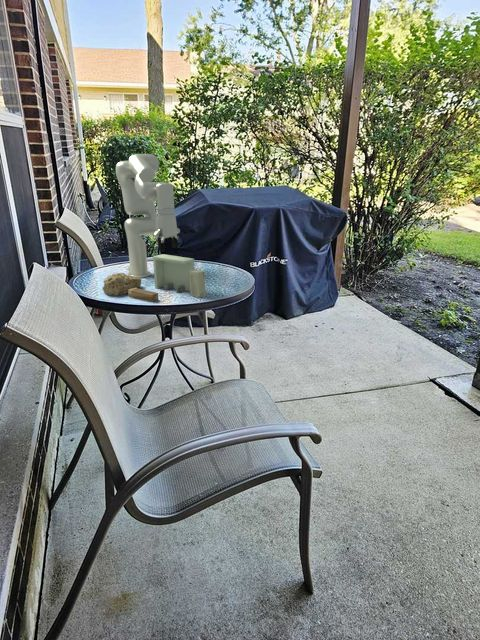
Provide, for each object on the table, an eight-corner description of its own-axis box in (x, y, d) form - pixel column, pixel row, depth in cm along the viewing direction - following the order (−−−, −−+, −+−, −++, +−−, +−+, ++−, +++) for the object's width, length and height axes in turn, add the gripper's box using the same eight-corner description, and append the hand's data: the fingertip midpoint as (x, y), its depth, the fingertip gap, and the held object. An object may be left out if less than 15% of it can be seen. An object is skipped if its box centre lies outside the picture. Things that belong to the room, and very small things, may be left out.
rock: (118, 285, 217) (121, 267, 214) (142, 294, 214) (146, 276, 211) (95, 292, 198) (98, 272, 195) (121, 302, 195) (125, 282, 192)
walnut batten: (152, 302, 188) (152, 294, 187) (128, 297, 196) (128, 289, 194) (158, 300, 192) (158, 292, 190) (135, 294, 199) (134, 287, 198)
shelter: (155, 288, 209) (152, 256, 204) (164, 285, 215) (162, 254, 209) (186, 294, 200) (184, 261, 194) (195, 291, 205) (194, 258, 199)
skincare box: (206, 296, 197) (205, 271, 193) (199, 298, 194) (198, 272, 190) (196, 293, 201) (196, 268, 197) (190, 295, 198) (189, 270, 194)
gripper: (171, 209, 196) (173, 246, 202) (146, 213, 182) (149, 252, 188) (184, 210, 193) (186, 247, 198) (160, 213, 178) (162, 253, 184)
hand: (168, 249), depth 193 cm, fingers open, 9 cm apart
